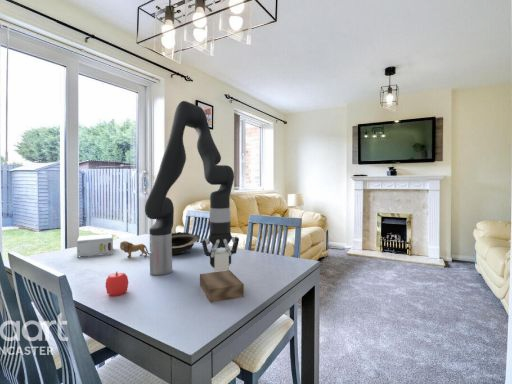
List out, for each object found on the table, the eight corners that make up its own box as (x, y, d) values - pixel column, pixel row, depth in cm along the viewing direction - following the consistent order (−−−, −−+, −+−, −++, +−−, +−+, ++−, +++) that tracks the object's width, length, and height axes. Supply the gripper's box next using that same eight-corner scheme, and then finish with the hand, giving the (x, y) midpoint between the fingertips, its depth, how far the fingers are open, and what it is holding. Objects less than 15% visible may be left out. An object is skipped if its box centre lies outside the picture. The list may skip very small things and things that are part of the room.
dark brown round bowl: (190, 243, 175) (191, 229, 174) (205, 256, 153) (205, 240, 152) (149, 248, 162) (149, 233, 161) (158, 263, 141) (158, 245, 140)
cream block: (215, 271, 99) (214, 254, 99) (212, 267, 104) (212, 251, 103) (228, 269, 100) (228, 253, 100) (225, 265, 105) (225, 250, 105)
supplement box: (76, 258, 145) (76, 240, 145) (79, 252, 157) (79, 235, 157) (113, 254, 153) (112, 237, 153) (113, 248, 165) (112, 233, 164)
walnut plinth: (210, 304, 93) (209, 289, 93) (200, 286, 107) (199, 274, 107) (243, 297, 98) (243, 283, 97) (229, 282, 112) (229, 269, 112)
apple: (110, 300, 95) (110, 277, 95) (101, 294, 100) (100, 272, 100) (133, 292, 101) (133, 271, 101) (123, 287, 106) (122, 266, 106)
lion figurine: (120, 260, 142) (119, 242, 141) (120, 257, 146) (119, 240, 146) (150, 256, 148) (150, 239, 147) (150, 254, 153) (149, 237, 152)
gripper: (201, 222, 95) (202, 271, 96) (241, 220, 100) (242, 267, 101) (199, 219, 102) (199, 265, 103) (236, 217, 107) (237, 261, 108)
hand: (220, 265), depth 102 cm, fingers closed on cream block, 5 cm apart
